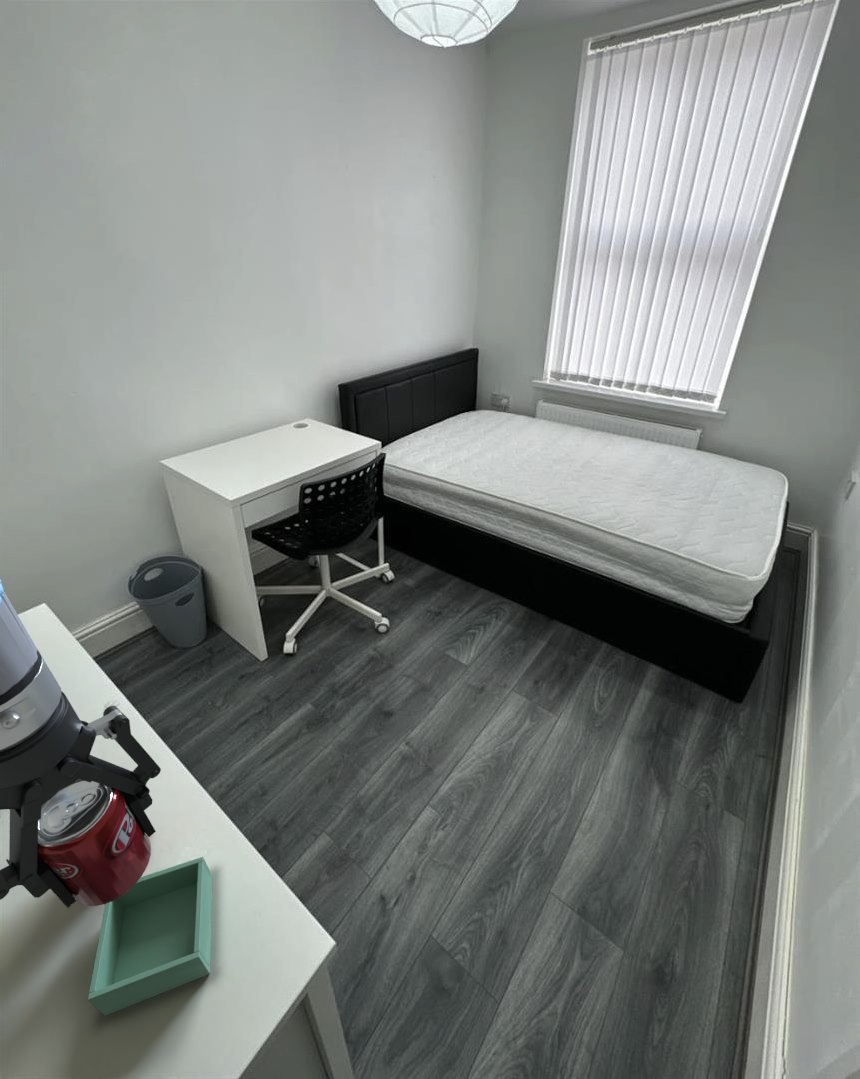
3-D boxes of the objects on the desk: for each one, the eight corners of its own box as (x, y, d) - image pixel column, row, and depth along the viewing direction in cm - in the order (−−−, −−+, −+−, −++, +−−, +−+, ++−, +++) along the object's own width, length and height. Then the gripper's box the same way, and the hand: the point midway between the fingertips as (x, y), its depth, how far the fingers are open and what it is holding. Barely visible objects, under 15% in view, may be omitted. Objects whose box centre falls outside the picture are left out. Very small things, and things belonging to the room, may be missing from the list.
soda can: (80, 926, 47) (27, 869, 40) (69, 862, 51) (20, 802, 45) (160, 874, 51) (123, 813, 44) (143, 819, 55) (108, 757, 49)
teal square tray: (122, 906, 64) (108, 887, 61) (212, 875, 67) (203, 856, 64) (105, 1015, 55) (87, 1000, 52) (210, 973, 58) (198, 956, 55)
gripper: (-168, 865, 29) (6, 991, 41) (158, 662, 43) (215, 802, 55) (-191, 793, 32) (-24, 929, 45) (116, 628, 46) (179, 766, 59)
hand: (108, 858), depth 50 cm, fingers closed on soda can, 7 cm apart
